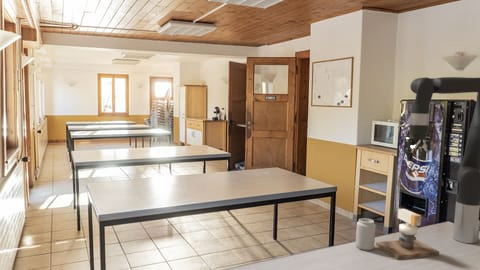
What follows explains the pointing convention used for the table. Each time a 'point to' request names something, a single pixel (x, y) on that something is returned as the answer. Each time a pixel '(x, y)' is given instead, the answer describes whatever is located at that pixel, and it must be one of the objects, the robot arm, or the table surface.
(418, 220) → the twist knob
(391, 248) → the lock base
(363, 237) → the can
